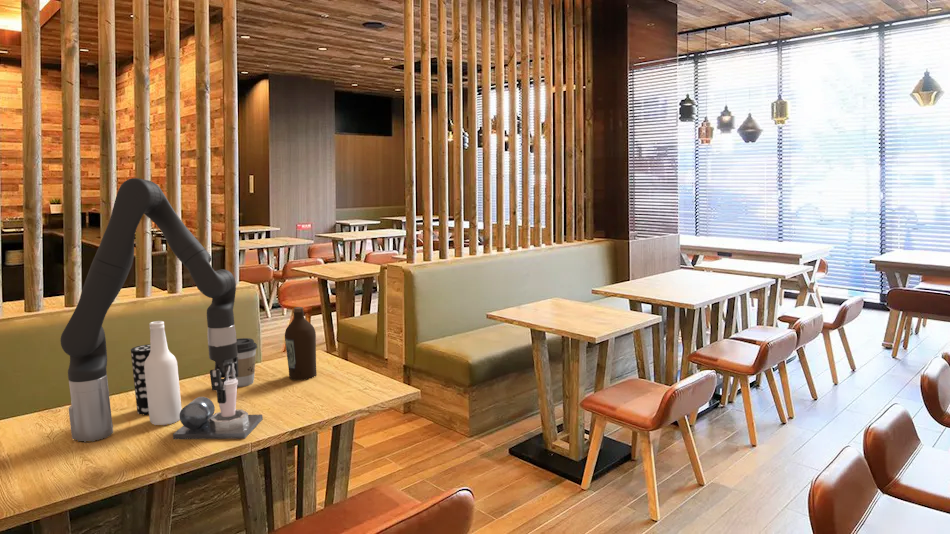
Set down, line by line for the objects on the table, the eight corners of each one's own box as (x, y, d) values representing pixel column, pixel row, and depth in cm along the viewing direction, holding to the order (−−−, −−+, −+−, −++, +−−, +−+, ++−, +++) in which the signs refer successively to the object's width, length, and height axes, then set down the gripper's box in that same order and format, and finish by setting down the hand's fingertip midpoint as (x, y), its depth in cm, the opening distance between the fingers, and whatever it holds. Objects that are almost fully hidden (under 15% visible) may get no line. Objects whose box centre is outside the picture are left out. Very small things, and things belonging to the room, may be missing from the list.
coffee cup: (253, 388, 224) (250, 345, 222) (220, 389, 224) (216, 346, 222) (264, 377, 235) (261, 336, 233) (232, 378, 235) (229, 337, 233)
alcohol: (159, 415, 201) (149, 319, 197) (187, 415, 201) (178, 318, 196) (144, 426, 192) (133, 326, 188) (173, 426, 192) (163, 325, 188)
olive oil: (311, 369, 243) (307, 303, 240) (322, 376, 235) (318, 307, 231) (283, 375, 237) (278, 307, 234) (293, 383, 229) (289, 312, 225)
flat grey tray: (173, 439, 182) (170, 409, 181) (196, 420, 196) (193, 392, 195) (244, 438, 182) (242, 408, 180) (262, 419, 195) (260, 391, 194)
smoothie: (232, 419, 184) (228, 370, 182) (211, 417, 186) (207, 369, 184) (244, 411, 190) (241, 364, 189) (224, 410, 192) (221, 363, 190)
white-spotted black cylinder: (171, 409, 206) (165, 347, 203) (143, 417, 200) (136, 353, 197) (160, 403, 212) (154, 342, 209) (133, 410, 206) (126, 348, 203)
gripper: (219, 335, 192) (224, 390, 195) (197, 348, 178) (202, 407, 180) (245, 334, 192) (249, 390, 194) (225, 348, 178) (230, 407, 180)
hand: (227, 398), depth 187 cm, fingers open, 6 cm apart
